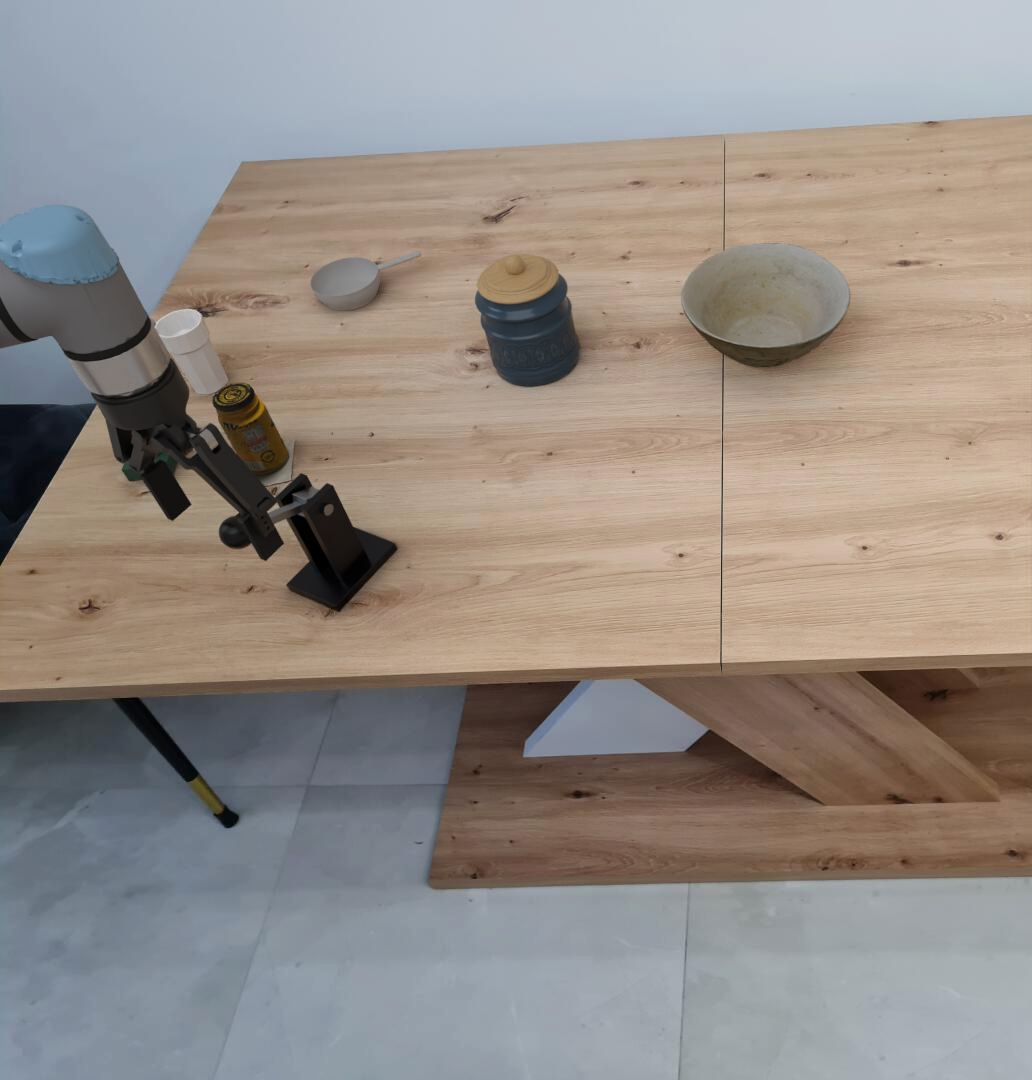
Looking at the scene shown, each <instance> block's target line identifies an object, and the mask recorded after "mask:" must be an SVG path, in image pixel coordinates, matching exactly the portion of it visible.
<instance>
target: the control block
mask: <svg viewBox="0 0 1032 1080" xmlns="http://www.w3.org/2000/svg"><path fill="white" fill-rule="evenodd" d="M159 453H162V454H161V455H160V456H159V457H158V458H156V459H155V460H154V462H155V463H156V462H157V461H159V460H163V461H165V462H166V464H167V465H168V467H169V469H170V470H171V472H172V474H173V475H174V473H175V471H176V469H177V465H178V464H179V463H178V462H177V461H176V460H175V459H174V458H172V457H171V456H170V455H169V454H167V453H163V452H159ZM129 464H130V463H129V462H127V461H126V462H125V463H124V464H122V467H121V472H122V473H123V475H124V476H125V477H126V479H127V481H128V482H135V481H143V480H142V478H141V477H140V475H141V474H140V473H136V472H135V471H133V470H132V469H131V468H130V466H129Z"/></svg>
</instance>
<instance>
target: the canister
mask: <svg viewBox="0 0 1032 1080" xmlns="http://www.w3.org/2000/svg"><path fill="white" fill-rule="evenodd" d="M476 287H477V291H476V293H475V294H474V295H475V296H474V304H475V307H476V308H477V311H478V312H479V313H480V318H479V319H480V325H481V328H482V329H483V331H484V333H485V337H486V341H487V344H488V348H489V351H490V352H489V353H490V359H491V363H492V365H493V368H494V369H495V370H496V372H497V373H498V376H500V377H501V378H502V380H505V381H506V382H508V383H510V384H514V385H518V386H523V387H524V386H525V387H529V386H530V387H534V386H541V385H542V386H543V385H547V384H550V383H553V382H554V381H557V380H560V379H561V378H564V377H565V376H566V375H568V374H569V373H570V372H572V370H573V369H574V368H575V367H576V366H577V364H578V362H579V359H580V349H581V347H580V346H581V345H580V339H579V336H578V334H577V332H576V326H575V322H574V321H575V320H574V317H573V311H572V310H573V304H572V301H571V299H570V298H569V297H568V295H567V294H568V291H569V290H568V289H569V288H568V287H569V286H568V282H567V281H566V278H565V277H564V276H563V275H562V274H561V273H559V269H558V267H557V266H556V264H555V263H554V262H553V261H551V260H550V259H548V258H546V257H543V256H539V255H534V254H530V253H516V254H515V253H514V254H509V255H506V256H504V257H501V258H499V259H497V260H495V261H494V262H493V263H491V264H490V265H488V266H487V267H486V268H485V269H484V270H482V271H481V273H480V274H479V276H478V278H477V282H476Z"/></svg>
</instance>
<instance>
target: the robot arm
mask: <svg viewBox="0 0 1032 1080" xmlns="http://www.w3.org/2000/svg"><path fill="white" fill-rule="evenodd" d="M155 326H156V321H155V320H154V319H153V318H151V317H149V314H148V312H147V310H146V309H145V307H144V306H143V304H142V302H141V299H140V298H139V296H138V294H137V292H136V290H135V289H134V286H133V285H132V283H131V281H130V278H129V277H128V274H127V273H126V271H125V270H124V268H123V266H122V264H121V262H120V257H119V256H118V254H117V252H116V251H115V249H114V248H113V247H111V245H110V244H109V242H108V241H107V239H106V237H105V236H104V234H103V233H102V231H101V230H100V228H99V226H98V225H97V223H96V222H95V220H94V218H92V216H90V214H89V213H87V212H86V211H85V210H83V209H80V208H79V207H76V206H72V205H68V204H47V205H41V206H36V207H33V208H30V209H29V210H28V211H27V212H24V213H20V214H15V215H13V216H12V217H10V218H9V219H7V220H6V221H5V222H3V223H2V224H1V225H0V349H5V348H10V347H14V346H18V345H22V344H27V343H31V342H35V341H38V340H40V339H44V338H47V337H52V338H53V339H54V340H55V341H56V343H57V344H58V346H59V347H60V349H61V351H62V352H63V355H64V356H65V358H66V359H67V361H68V363H69V364H70V365H71V368H72V369H73V370H74V372H75V373H76V375H77V377H79V380H80V382H81V383H82V384H83V386H84V388H86V390H88V391H89V392H90V394H91V396H92V397H91V398H93V400H94V401H95V404H97V407H98V409H99V411H100V413H101V414H102V416H103V418H104V419H105V423H106V427H107V432H108V436H109V440H110V441H109V442H110V444H111V449H112V453H113V456H114V458H115V460H116V461H117V462H118V463H120V464H122V465H124V463H125V462H126V461H127V462H129V463H130V464H129V466H130V468H131V469H132V470H133V471H135V472H136V473H140V474H141V475H140V477H141V478H142V480H141V481H142V482H143V483H144V485H145V486H146V488H147V490H148V491H149V492H150V494H151V496H152V497H153V499H154V500H155V502H156V503H157V504H158V506H159V508H160V510H161V511H162V513H163V514H164V515H165V517H166V518H167V520H169V521H172V522H174V521H175V520H176V519H177V518H178V517H180V516H181V514H183V513H185V511H187V509H188V508H190V507H191V506H192V503H191V501H190V499H189V498H188V496H187V495H186V493H185V491H184V490H183V488H182V487H181V485H180V483H179V482H178V480H177V479H176V477H175V475H174V474H172V472H171V470H170V469H169V467H168V465H167V464H166V462H165V461H163V460H159V461H157V462H156V463H155V462H154V460H155V459H156V458H158V457H159V456H160V455H161V454H162V453H159V452H163V453H167V454H169V455H170V456H171V457H172V458H174V459H175V460H176V461H177V462H178V463H177V464H179V466H181V467H182V468H183V469H184V470H189V471H190V470H193V471H194V472H195V473H196V474H197V476H199V477H200V478H201V479H202V480H203V481H204V482H205V483H207V484H208V485H209V486H210V487H211V489H212V490H214V491H215V492H216V493H217V494H218V495H220V496H221V497H222V498H223V499H224V500H225V501H226V502H227V503H228V504H229V505H230V506H231V507H232V508H233V509H234V510H235V511H236V512H238V513H237V514H235V516H236V517H237V521H238V522H239V523H240V524H241V526H242V528H243V529H244V531H245V533H246V535H247V536H248V538H249V540H250V542H251V545H252V547H253V548H254V550H255V552H256V554H257V555H258V558H259V559H260V560H262V561H264V562H267V561H268V560H269V559H270V558H271V557H272V556H273V555H274V554H275V553H276V552H278V550H279V549H280V548H281V547H283V545H285V542H284V540H283V538H282V536H281V535H280V532H279V531H278V529H277V527H276V525H275V524H273V522H272V520H271V518H270V516H269V514H268V513H269V512H270V510H271V509H272V508H273V507H274V506H275V505H276V504H277V500H276V499H275V496H274V494H272V493H271V492H270V491H269V489H268V488H267V486H264V485H263V484H262V483H261V481H260V480H259V479H258V478H257V477H256V476H255V475H254V473H253V472H252V471H251V470H250V469H249V468H248V467H247V465H246V464H245V463H244V462H243V461H242V460H241V458H240V457H239V456H238V455H237V453H236V452H235V450H234V448H233V447H231V446H230V445H229V443H228V442H227V441H226V439H225V437H224V436H223V434H222V433H221V430H219V428H218V427H217V426H216V425H215V424H213V423H211V422H209V423H208V424H207V425H205V426H204V427H203V428H202V427H199V426H198V425H197V422H196V420H194V419H193V418H192V417H191V416H190V415H189V414H188V413H187V404H188V402H189V398H190V388H189V386H188V384H187V382H186V380H185V378H184V376H183V374H182V373H181V370H180V368H179V366H178V364H177V362H176V361H175V359H174V358H173V357H171V354H170V353H169V352H168V350H167V349H166V347H165V345H164V343H163V341H162V340H161V338H160V336H159V334H158V332H157V331H156V329H155ZM172 358H173V359H172ZM192 451H193V452H194V455H192V456H191V457H187V455H189V454H190V453H191V452H192Z"/></svg>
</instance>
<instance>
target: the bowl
mask: <svg viewBox="0 0 1032 1080" xmlns="http://www.w3.org/2000/svg"><path fill="white" fill-rule="evenodd" d="M680 301H681V307H682V310H683V313H684V315H685V316H686V318H687V320H688V321H689V323H690V324H691V326H692V328H693V329H695V331H696V332H697V333H698V334H699V335H700V336H701V337H702V338H703V339H704V340H705V341H706V342H707V343H708V345H710V346H712V348H713V349H715V350H717V351H718V352H719V353H721V354H722V355H724V356H725V357H727V358H728V359H730V360H732V361H734V362H736V363H739V364H742V365H745V366H747V367H751V368H759V369H761V368H763V369H764V368H775V367H776V368H777V367H780V366H784V365H787V364H789V363H791V362H793V361H795V360H798V359H800V358H803V357H804V356H805V355H807V354H809V353H811V352H812V351H813V350H815V349H817V348H818V347H819V346H820V345H822V344H823V343H824V342H825V341H826V340H827V339H828V338H829V337H830V336H831V335H832V334H833V333H834V331H835V330H836V329H837V328H838V327H839V326H840V324H841V323H842V321H844V318H845V317H846V315H847V313H848V311H849V307H850V304H851V289H850V286H849V283H848V281H847V279H846V277H845V276H844V274H843V273H842V272H841V270H840V269H839V268H838V267H836V265H834V264H833V263H831V261H829V260H828V259H827V258H825V257H823V256H822V255H820V254H818V253H816V252H815V251H812V250H810V249H808V248H805V247H803V246H800V245H796V244H791V243H781V242H774V243H770V242H766V243H765V242H764V243H763V242H762V243H753V244H745V245H739V246H734V247H731V248H727V249H725V250H722V251H721V252H718V253H716V254H714V255H712V256H710V257H708V258H707V259H705V260H703V261H702V262H701V263H700V264H698V266H696V267H695V268H694V269H693V270H692V271H691V272H690V274H689V275H688V277H687V278H686V280H685V281H684V283H683V286H682V288H681V292H680Z"/></svg>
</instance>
